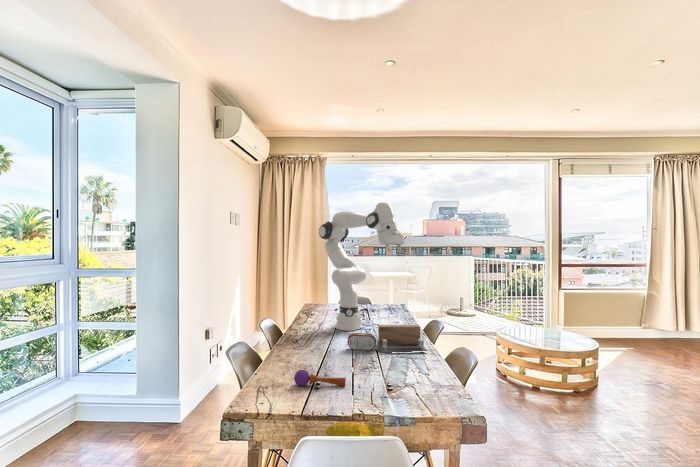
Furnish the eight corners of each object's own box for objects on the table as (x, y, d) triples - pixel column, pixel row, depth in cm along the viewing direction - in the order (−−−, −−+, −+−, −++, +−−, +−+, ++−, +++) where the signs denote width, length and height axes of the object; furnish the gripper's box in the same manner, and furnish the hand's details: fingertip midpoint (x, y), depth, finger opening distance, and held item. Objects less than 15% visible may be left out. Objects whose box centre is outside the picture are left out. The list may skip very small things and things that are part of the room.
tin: (376, 349, 180) (376, 333, 180) (376, 351, 177) (376, 335, 177) (347, 348, 182) (347, 332, 182) (347, 350, 179) (347, 333, 179)
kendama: (345, 379, 131) (293, 374, 132) (344, 393, 132) (292, 388, 133) (346, 370, 137) (296, 365, 138) (345, 384, 138) (295, 379, 139)
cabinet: (377, 344, 190) (377, 324, 190) (418, 343, 191) (418, 324, 191) (382, 353, 174) (382, 332, 174) (427, 353, 175) (427, 332, 175)
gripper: (395, 231, 208) (400, 253, 205) (374, 229, 193) (380, 253, 190) (403, 228, 204) (409, 250, 201) (383, 226, 189) (389, 250, 186)
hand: (395, 252), depth 195 cm, fingers open, 8 cm apart
